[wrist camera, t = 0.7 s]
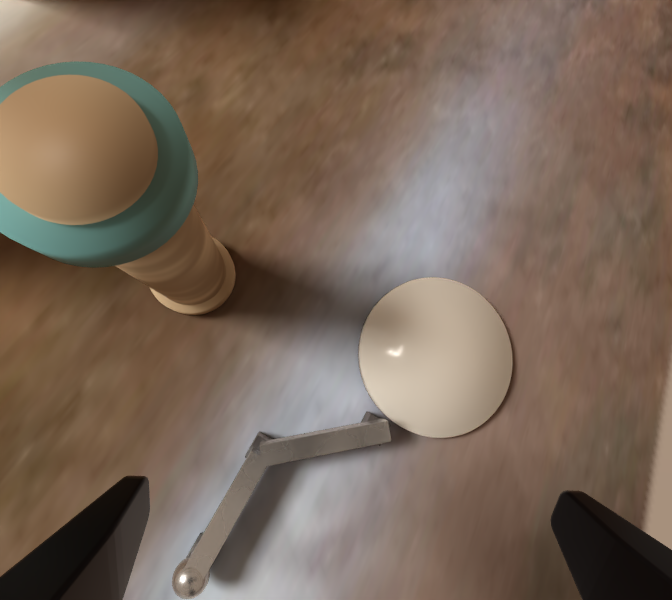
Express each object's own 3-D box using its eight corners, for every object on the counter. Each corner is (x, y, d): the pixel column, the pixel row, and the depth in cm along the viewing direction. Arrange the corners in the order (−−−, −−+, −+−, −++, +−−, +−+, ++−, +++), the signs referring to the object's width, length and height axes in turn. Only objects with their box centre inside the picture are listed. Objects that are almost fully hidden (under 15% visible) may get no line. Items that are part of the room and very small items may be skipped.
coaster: (468, 466, 22) (473, 468, 21) (329, 385, 22) (330, 386, 21) (529, 327, 24) (535, 326, 23) (402, 252, 24) (406, 249, 23)
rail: (283, 628, 19) (283, 664, 17) (175, 568, 19) (160, 596, 17) (387, 421, 22) (400, 427, 19) (292, 366, 21) (293, 366, 19)
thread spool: (209, 337, 21) (98, 290, 8) (128, 291, 21) (-107, 172, 8) (258, 261, 22) (224, 119, 10) (181, 217, 22) (44, 12, 9)
